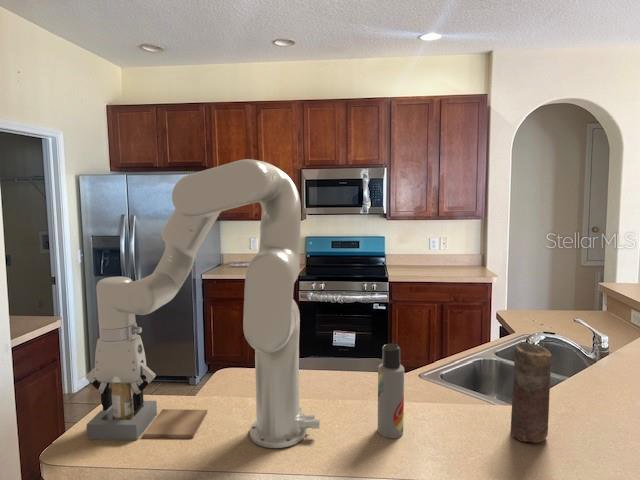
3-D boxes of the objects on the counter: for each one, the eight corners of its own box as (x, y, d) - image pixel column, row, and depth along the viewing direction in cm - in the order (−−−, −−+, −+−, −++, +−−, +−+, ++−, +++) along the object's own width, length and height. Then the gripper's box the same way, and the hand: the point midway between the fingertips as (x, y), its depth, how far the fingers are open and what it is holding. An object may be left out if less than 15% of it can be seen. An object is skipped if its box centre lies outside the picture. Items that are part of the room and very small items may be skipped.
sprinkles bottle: (136, 427, 103) (133, 371, 101) (115, 433, 100) (111, 376, 99) (132, 419, 106) (129, 364, 105) (111, 424, 104) (107, 369, 102)
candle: (518, 423, 103) (522, 339, 101) (552, 435, 98) (557, 347, 96) (504, 436, 98) (508, 348, 96) (539, 450, 93) (544, 357, 90)
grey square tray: (157, 414, 109) (156, 400, 108) (137, 440, 98) (136, 424, 97) (112, 413, 109) (111, 400, 109) (87, 439, 98) (86, 424, 98)
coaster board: (207, 412, 109) (207, 409, 109) (193, 438, 98) (192, 434, 98) (162, 412, 110) (162, 409, 109) (143, 437, 99) (143, 434, 99)
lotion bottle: (408, 431, 100) (409, 345, 98) (394, 442, 96) (395, 352, 94) (387, 422, 104) (388, 339, 102) (372, 432, 100) (373, 345, 98)
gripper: (162, 327, 104) (166, 400, 106) (89, 326, 105) (94, 399, 107) (149, 338, 97) (153, 416, 99) (70, 337, 97) (76, 415, 99)
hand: (122, 407), depth 103 cm, fingers open, 6 cm apart
